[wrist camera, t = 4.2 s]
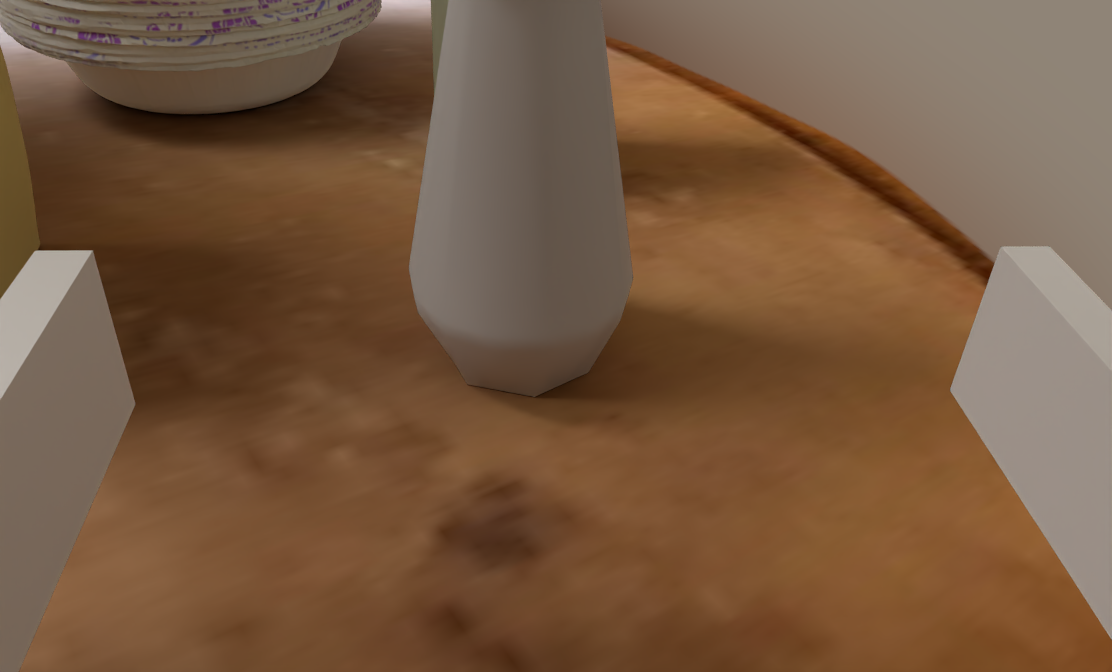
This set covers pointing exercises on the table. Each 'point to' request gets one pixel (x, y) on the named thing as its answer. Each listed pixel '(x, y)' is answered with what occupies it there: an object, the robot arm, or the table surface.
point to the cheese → (14, 190)
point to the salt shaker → (522, 196)
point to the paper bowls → (190, 47)
